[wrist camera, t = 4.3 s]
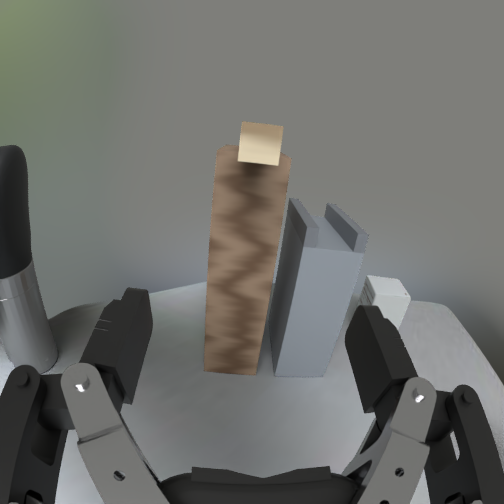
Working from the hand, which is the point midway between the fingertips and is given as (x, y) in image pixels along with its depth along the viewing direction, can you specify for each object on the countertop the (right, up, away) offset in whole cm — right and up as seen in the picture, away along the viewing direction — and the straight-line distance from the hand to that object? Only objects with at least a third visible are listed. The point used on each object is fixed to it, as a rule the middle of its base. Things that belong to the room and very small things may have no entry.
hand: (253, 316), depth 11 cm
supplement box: (+23, -15, +43) cm, 51 cm away
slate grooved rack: (+7, -15, +39) cm, 43 cm away
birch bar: (0, +14, +21) cm, 25 cm away
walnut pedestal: (-4, -13, +39) cm, 41 cm away
